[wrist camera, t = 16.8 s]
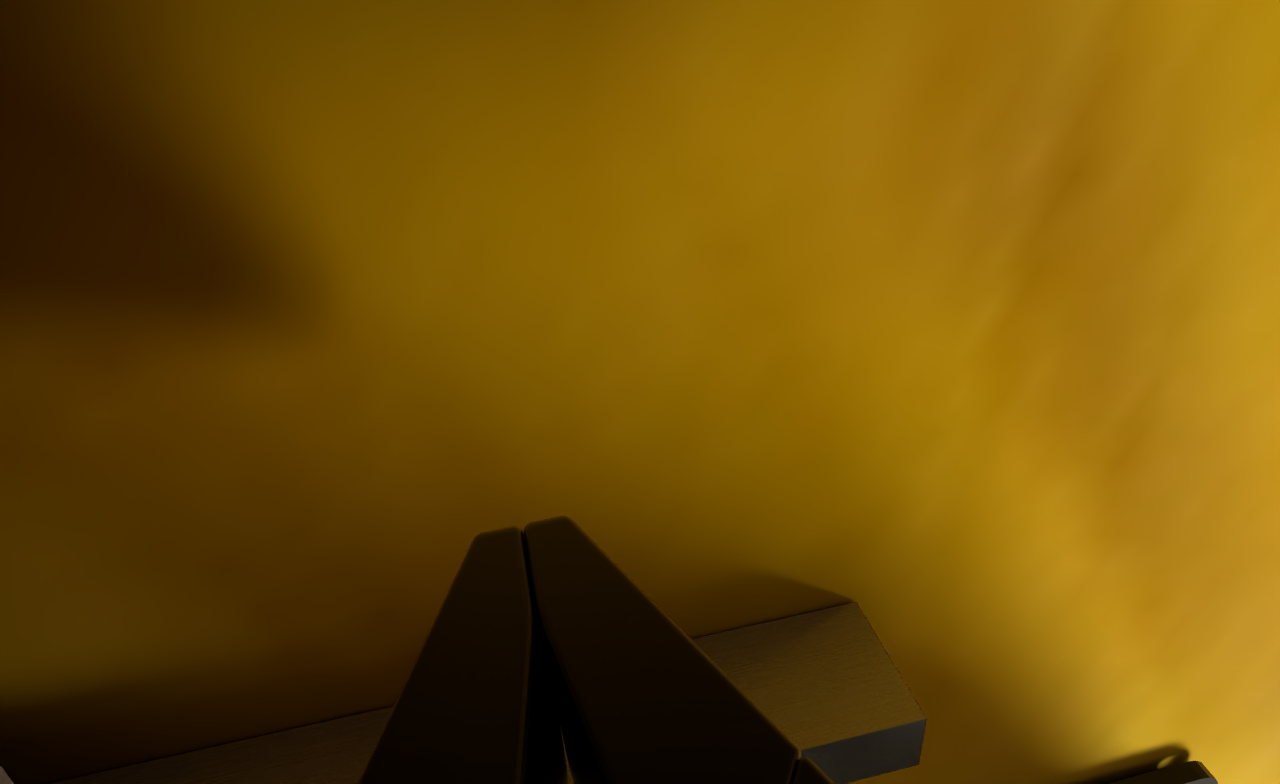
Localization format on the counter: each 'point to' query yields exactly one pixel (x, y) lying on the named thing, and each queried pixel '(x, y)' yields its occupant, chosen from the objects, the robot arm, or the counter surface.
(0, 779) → the board
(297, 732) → the track
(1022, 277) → the counter surface
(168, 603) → the counter surface
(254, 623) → the counter surface
